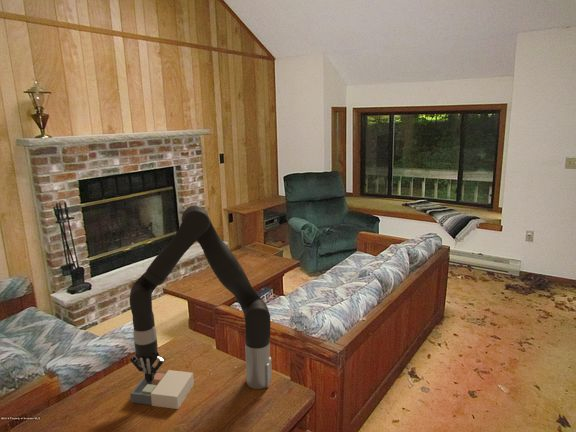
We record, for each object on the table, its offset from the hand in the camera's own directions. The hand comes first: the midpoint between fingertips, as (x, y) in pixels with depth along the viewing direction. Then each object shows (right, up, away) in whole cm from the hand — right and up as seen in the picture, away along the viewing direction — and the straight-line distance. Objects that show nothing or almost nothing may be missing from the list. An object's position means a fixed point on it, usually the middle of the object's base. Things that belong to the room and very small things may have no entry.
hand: (149, 381), depth 152 cm
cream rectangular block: (+7, -6, +4) cm, 11 cm away
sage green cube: (+1, -5, +1) cm, 5 cm away
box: (-1, -6, +6) cm, 8 cm away
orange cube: (+2, -3, +8) cm, 9 cm away
